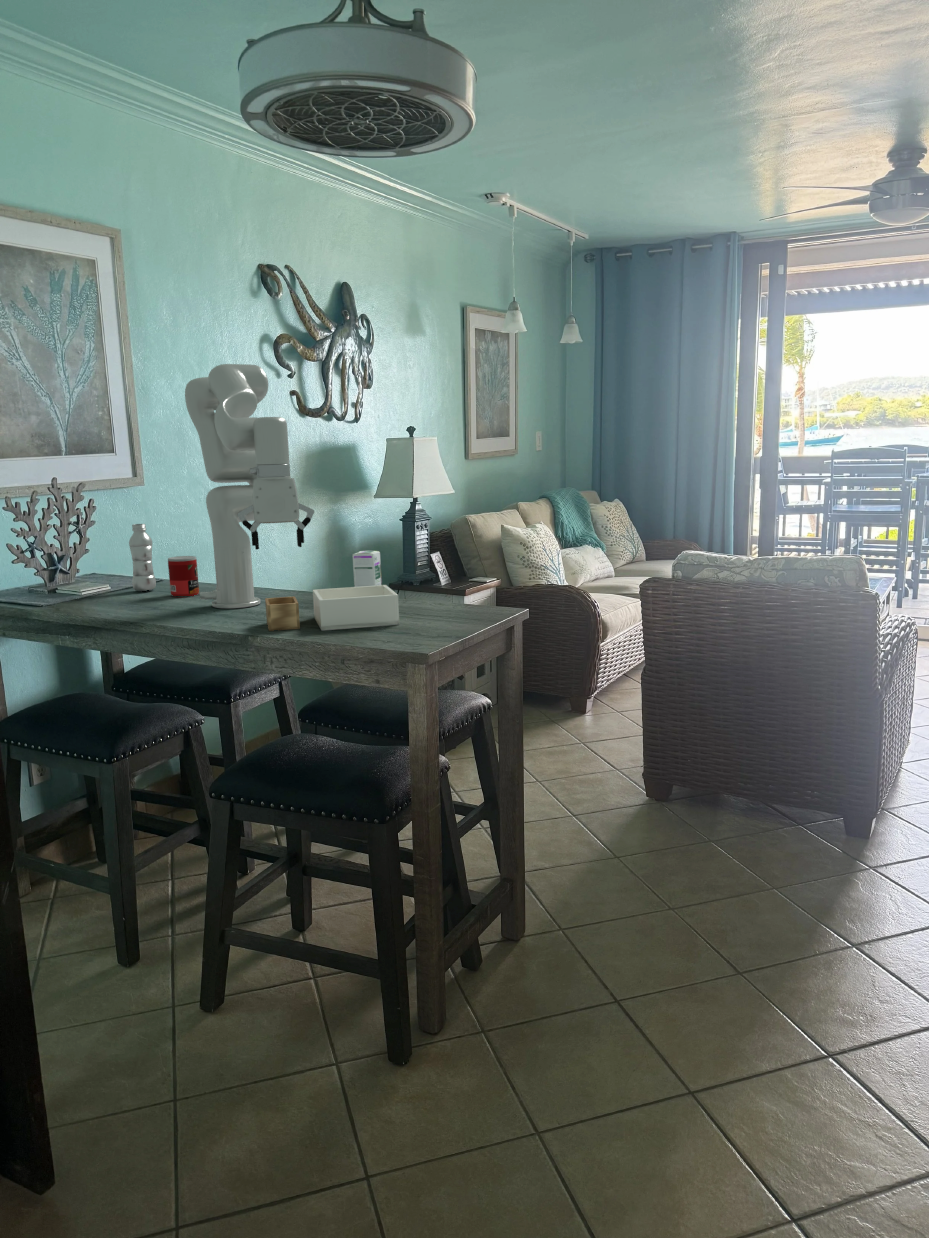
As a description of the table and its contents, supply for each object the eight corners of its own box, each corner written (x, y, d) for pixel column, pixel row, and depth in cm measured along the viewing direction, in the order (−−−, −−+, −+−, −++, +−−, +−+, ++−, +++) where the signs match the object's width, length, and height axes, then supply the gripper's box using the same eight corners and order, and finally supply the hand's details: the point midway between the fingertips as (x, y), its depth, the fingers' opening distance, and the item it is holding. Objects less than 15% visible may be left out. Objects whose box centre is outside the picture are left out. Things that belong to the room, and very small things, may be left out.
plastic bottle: (132, 590, 266) (125, 524, 263) (156, 588, 269) (149, 522, 265) (133, 593, 261) (126, 525, 257) (157, 591, 263) (151, 524, 259)
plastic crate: (321, 630, 201) (319, 600, 200) (314, 617, 216) (312, 589, 215) (399, 624, 206) (398, 594, 204) (387, 612, 221) (385, 584, 219)
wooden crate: (269, 631, 202) (267, 605, 201) (266, 623, 211) (265, 598, 210) (300, 628, 204) (298, 603, 203) (296, 620, 213) (294, 596, 212)
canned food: (194, 597, 252) (191, 558, 250) (167, 597, 252) (163, 559, 250) (203, 592, 259) (199, 555, 257) (176, 593, 259) (172, 556, 257)
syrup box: (377, 609, 225) (374, 553, 222) (354, 609, 226) (352, 553, 224) (383, 605, 231) (381, 550, 228) (361, 605, 232) (359, 550, 229)
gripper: (234, 474, 195) (240, 551, 198) (313, 471, 199) (318, 547, 203) (233, 473, 202) (239, 548, 205) (310, 471, 207) (314, 544, 210)
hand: (278, 547), depth 204 cm, fingers open, 9 cm apart
